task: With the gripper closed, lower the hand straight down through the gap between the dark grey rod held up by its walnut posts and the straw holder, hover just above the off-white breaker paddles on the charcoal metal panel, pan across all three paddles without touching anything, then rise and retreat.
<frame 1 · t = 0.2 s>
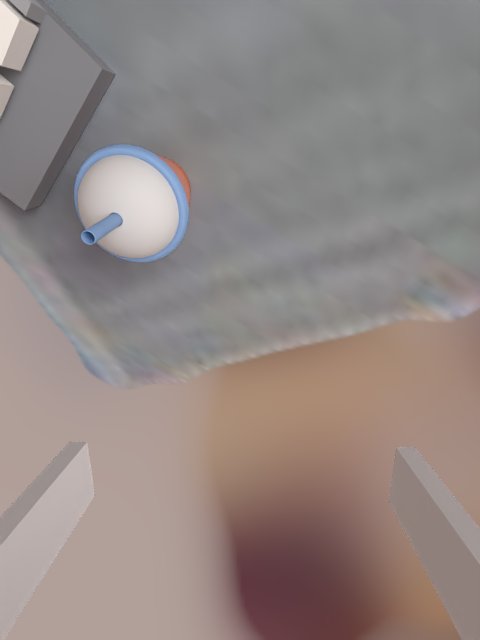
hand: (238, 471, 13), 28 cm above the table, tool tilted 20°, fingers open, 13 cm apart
breaker panel: (18, 96, 29), on the table
cup with straw: (163, 188, 34), on the table
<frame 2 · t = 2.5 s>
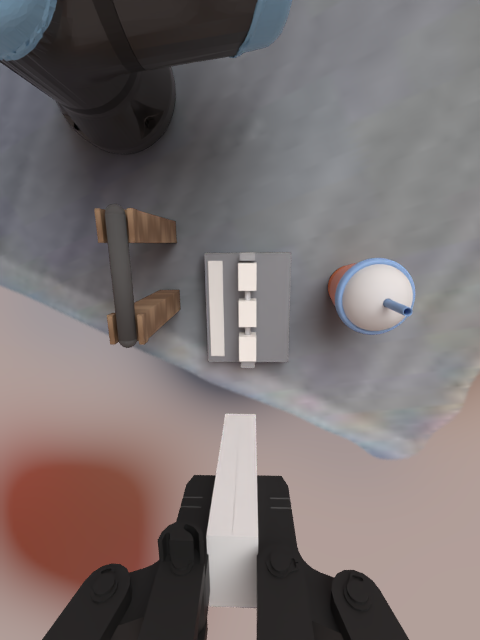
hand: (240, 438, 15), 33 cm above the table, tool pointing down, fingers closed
dark grey rod: (125, 278, 31), point 16 cm above the table, touching cord posts
breaker paddles: (247, 312, 43), point 5 cm above the table, hinge at 0.0°
breaker panel: (248, 305, 47), on the table
cup with straw: (347, 285, 46), on the table
cord posts: (168, 266, 46), on the table
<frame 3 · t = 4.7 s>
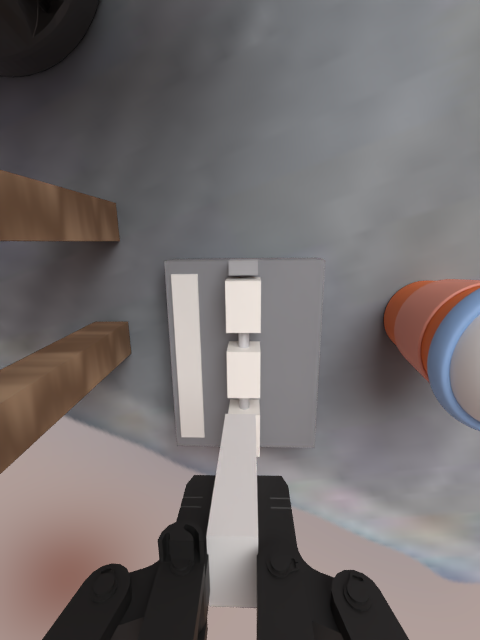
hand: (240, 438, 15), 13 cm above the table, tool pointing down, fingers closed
breaker paddles: (244, 368, 23), point 5 cm above the table, hinge at 0.0°
breaker panel: (245, 348, 28), on the table
cup with straw: (417, 315, 27), on the table
cord posts: (107, 282, 27), on the table
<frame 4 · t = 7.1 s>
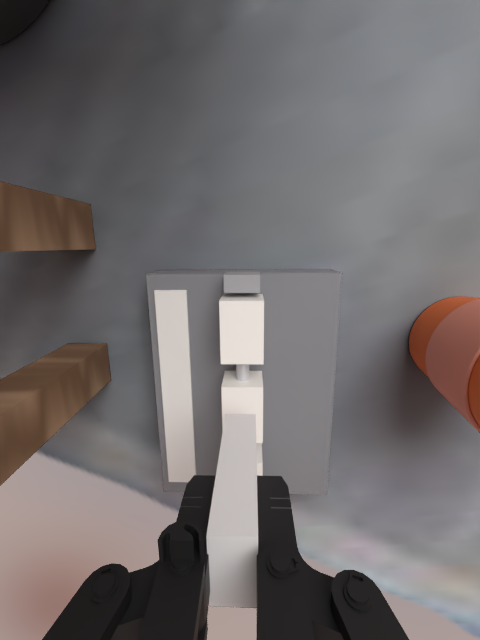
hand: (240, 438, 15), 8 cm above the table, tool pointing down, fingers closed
breaker paddles: (243, 405, 19), point 5 cm above the table, hinge at 0.0°
breaker panel: (244, 374, 24), on the table
cup with straw: (449, 337, 22), on the table
cord posts: (81, 298, 23), on the table
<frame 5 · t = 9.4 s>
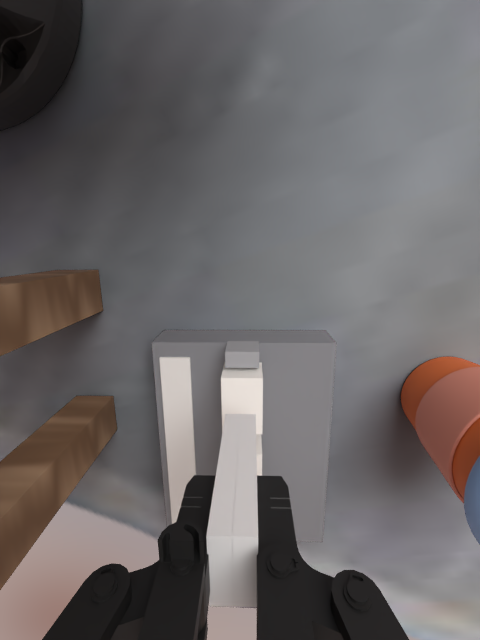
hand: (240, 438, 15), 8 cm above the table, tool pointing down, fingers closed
breaker paddles: (243, 465, 20), point 5 cm above the table, hinge at 0.0°
breaker panel: (244, 425, 25), on the table
cup with straw: (439, 392, 24), on the table
cord posts: (89, 354, 24), on the table
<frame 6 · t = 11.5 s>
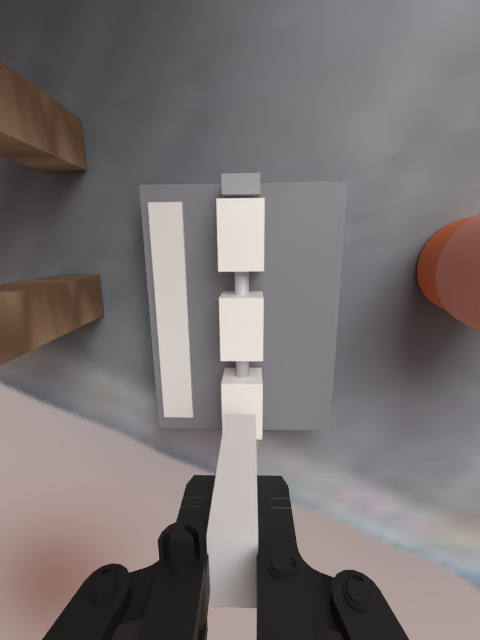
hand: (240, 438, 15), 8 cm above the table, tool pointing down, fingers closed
breaker paddles: (242, 324, 18), point 5 cm above the table, hinge at 0.0°
breaker panel: (244, 308, 22), on the table
cup with straw: (459, 265, 21), on the table
cord posts: (72, 224, 21), on the table
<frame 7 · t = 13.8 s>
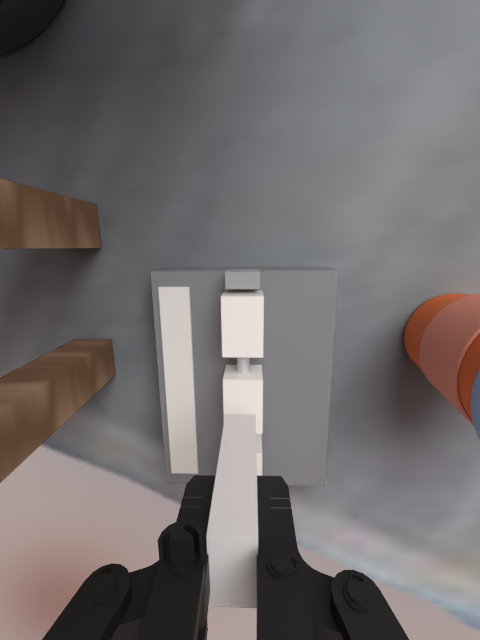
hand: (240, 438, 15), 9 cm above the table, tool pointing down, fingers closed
breaker paddles: (243, 397, 20), point 5 cm above the table, hinge at 0.0°
breaker panel: (245, 369, 24), on the table
cup with straw: (443, 333, 23), on the table
cord posts: (87, 295, 23), on the table
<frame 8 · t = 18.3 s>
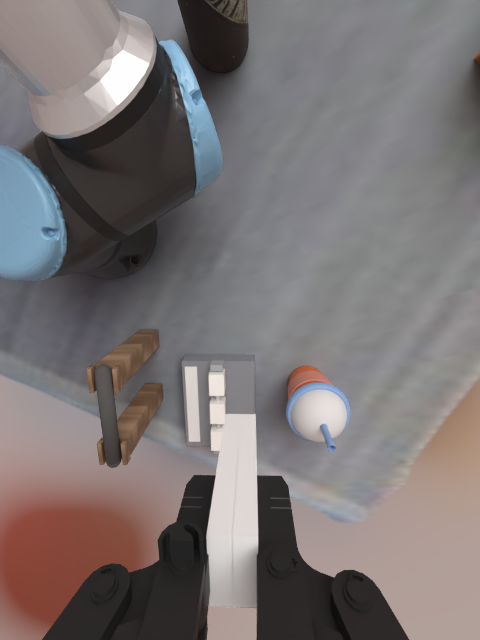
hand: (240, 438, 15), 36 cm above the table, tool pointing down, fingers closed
dark grey rod: (112, 413, 38), point 16 cm above the table, touching cord posts
container: (218, 39, 42), on the table
breaker paddles: (218, 410, 50), point 5 cm above the table, hinge at 0.0°
breaker panel: (220, 396, 55), on the table
cup with straw: (305, 381, 54), on the table
cord posts: (152, 365, 54), on the table
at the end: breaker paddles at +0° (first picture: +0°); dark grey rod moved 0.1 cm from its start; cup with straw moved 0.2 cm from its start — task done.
